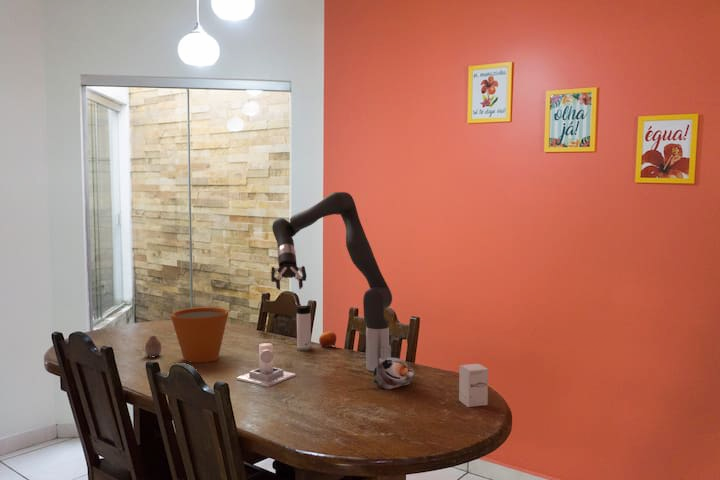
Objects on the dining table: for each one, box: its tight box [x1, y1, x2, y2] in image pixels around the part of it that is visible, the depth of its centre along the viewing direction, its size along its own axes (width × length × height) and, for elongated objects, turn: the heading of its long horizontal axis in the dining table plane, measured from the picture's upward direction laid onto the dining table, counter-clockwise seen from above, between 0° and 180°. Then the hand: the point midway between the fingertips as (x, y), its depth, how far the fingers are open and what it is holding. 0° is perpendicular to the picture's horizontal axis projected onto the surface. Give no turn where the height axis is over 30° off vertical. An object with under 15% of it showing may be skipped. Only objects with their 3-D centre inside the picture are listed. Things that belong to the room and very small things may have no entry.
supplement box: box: [458, 363, 489, 408], centre depth 206 cm, size 7×7×13 cm
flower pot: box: [170, 306, 229, 363], centre depth 261 cm, size 24×24×20 cm
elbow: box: [258, 342, 274, 374], centre depth 232 cm, size 9×5×12 cm, turn 12°
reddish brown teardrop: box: [144, 335, 163, 358], centre depth 265 cm, size 7×7×9 cm
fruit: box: [318, 330, 337, 348], centre depth 281 cm, size 8×8×8 cm
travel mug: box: [296, 305, 312, 352], centre depth 276 cm, size 6×7×20 cm
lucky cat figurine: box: [373, 356, 415, 391], centre depth 223 cm, size 15×12×14 cm
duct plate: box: [236, 366, 297, 388], centre depth 234 cm, size 16×16×3 cm
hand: (289, 288), depth 246 cm, fingers open, 8 cm apart
